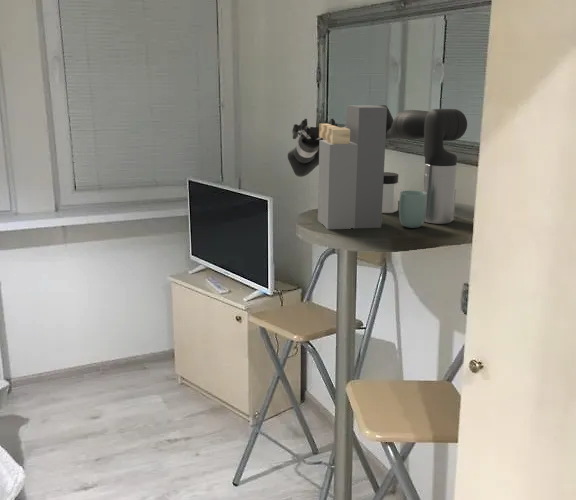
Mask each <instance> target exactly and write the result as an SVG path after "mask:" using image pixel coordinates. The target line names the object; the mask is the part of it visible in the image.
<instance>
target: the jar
mask: <svg viewBox="0 0 576 500" xmlns="http://www.w3.org/2000/svg"><path fill="white" fill-rule="evenodd" d="M399 198H400V182H399V173H396V172H388V171H386V172H385V171H384V181H383V201H382V214H393V213H395V212H397V211H399Z"/></svg>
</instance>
